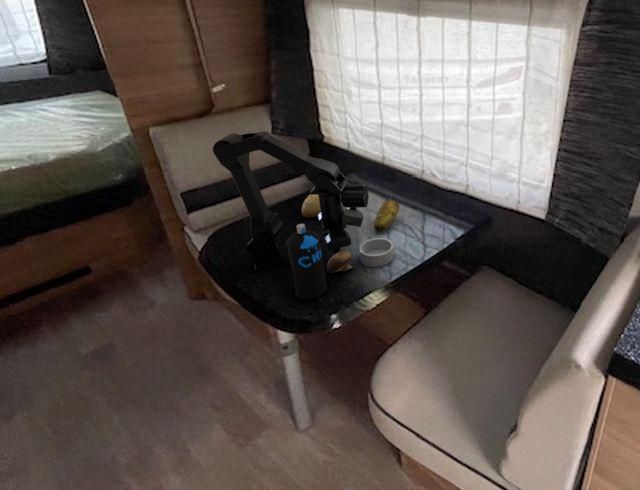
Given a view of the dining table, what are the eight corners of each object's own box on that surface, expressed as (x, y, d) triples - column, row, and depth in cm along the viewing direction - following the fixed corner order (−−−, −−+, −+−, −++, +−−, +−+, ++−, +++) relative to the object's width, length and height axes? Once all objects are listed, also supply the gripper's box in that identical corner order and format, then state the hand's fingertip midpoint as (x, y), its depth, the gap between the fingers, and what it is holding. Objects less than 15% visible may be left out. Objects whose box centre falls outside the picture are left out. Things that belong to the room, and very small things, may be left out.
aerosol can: (288, 292, 112) (275, 227, 104) (314, 276, 118) (303, 214, 111) (308, 303, 108) (296, 237, 100) (334, 286, 114) (324, 223, 107)
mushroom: (362, 262, 120) (348, 245, 118) (340, 282, 116) (325, 266, 114) (354, 261, 126) (341, 246, 125) (334, 280, 122) (319, 265, 121)
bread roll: (348, 208, 157) (346, 189, 154) (311, 223, 146) (308, 203, 143) (333, 201, 162) (330, 182, 159) (297, 215, 151) (293, 195, 148)
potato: (364, 230, 142) (362, 209, 139) (390, 215, 153) (388, 195, 150) (382, 237, 139) (380, 215, 135) (407, 221, 149) (406, 201, 146)
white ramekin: (365, 270, 121) (364, 259, 120) (357, 253, 129) (356, 242, 128) (398, 262, 126) (397, 250, 124) (388, 245, 134) (388, 235, 132)
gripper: (367, 215, 114) (371, 262, 120) (352, 189, 129) (357, 232, 135) (324, 223, 109) (331, 272, 115) (314, 195, 124) (321, 240, 131)
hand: (337, 253), depth 124 cm, fingers closed
